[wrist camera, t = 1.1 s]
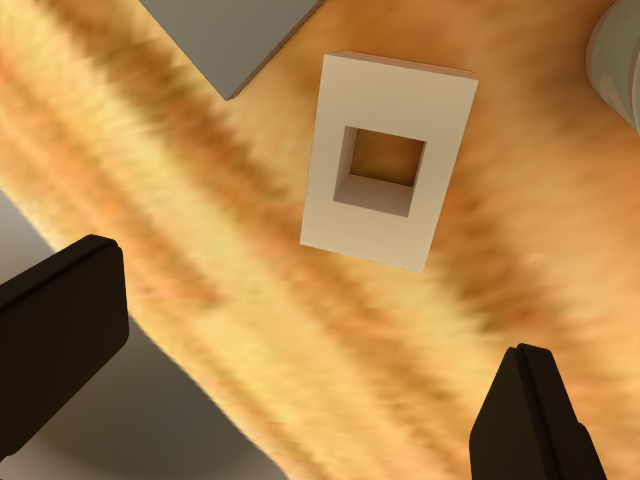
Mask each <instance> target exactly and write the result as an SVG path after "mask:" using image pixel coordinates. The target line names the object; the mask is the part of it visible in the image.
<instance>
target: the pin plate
mask: <svg viewBox="0 0 640 480" xmlns="http://www.w3.org/2000/svg"><path fill="white" fill-rule="evenodd" d="M139 1H140V2H141V3H142V5H143V6H144V7H145V8H146V9H147V10H148V12H149V13H150V14H151V15H152V16H153V17H154V19H155V20H156V21H157V22H158V23H159V24H160V26H161V27H162V28H163V29H164V30H165V31H166V32H167V34H168V35H169V36H170V37H171V38H172V39H173V41H174V42H175V43H176V44H177V45H178V46H179V48H180V49H181V50H182V51H183V52H184V53H185V55H186V56H187V57H188V58H189V59H190V60H191V61H192V63H193V64H194V65H195V66H196V67H197V68H198V70H199V71H200V72H201V73H202V74H203V75H204V77H205V78H206V79H207V80H208V81H209V82H210V83H211V85H212V86H213V87H214V88H215V89H216V90H217V92H218V93H219V94H220V95H221V96H222V97H223V99H224V100H225V101H227V100H230V99H233V98H235V97H236V95H237V94H238V93H239V92H240V91H241V90H242V89H243V88H244V87H245V86H246V85H247V84H248V83H249V82H250V80H251V79H252V78H253V77H254V76H255V75H256V74H257V73H258V72H259V71H260V70H261V69H262V68H263V67H264V65H265V64H266V63H267V62H268V61H269V60H270V59H271V58H272V57H273V56H274V55H275V54H276V53H277V52H278V50H279V49H280V48H281V47H282V46H283V45H284V44H285V43H286V42H287V41H288V40H289V39H290V38H291V37H292V35H293V34H294V33H295V32H296V31H297V30H298V29H299V28H300V27H301V26H302V25H303V24H304V23H305V22H306V21H307V19H308V18H309V17H310V16H311V15H312V14H313V13H314V12H315V11H316V10H317V9H318V8H319V7H320V6H321V4H322V3H323V2H324V1H325V0H139Z"/></svg>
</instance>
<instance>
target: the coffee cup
mask: <svg viewBox="0 0 640 480" xmlns="http://www.w3.org/2000/svg"><path fill="white" fill-rule="evenodd" d="M585 69H586V74H587V77H588V80H589V82H590V84H591V86H592V88H593V89H594V90H595V92H596V93H597V94H598V95H599V96H600V97H601V98H602V99H603V100H604V101H605V102H606V103H607V104H608V105H609V106H610V107H611V108H613V109H614V110H615V111H616V112H617V113H618V114H619V115H620V116H621V117H622V118H623V119H624V120H625V121H626V122H627V123H629V124H630V125H631V126H632V127H633V128H634V129H635V130H636V131H637V132H638V133H639V136H640V0H616V1H615V2H614V3H613V4H612V5H611V6H610V7H609V8H608V9H607V10H606V11H605V13H604V14H603V15H602V16H601V18H600V19H599V21H598V22H597V24H596V25H595V27H594V29H593V31H592V33H591V35H590V38H589V41H588V44H587V48H586V53H585Z"/></svg>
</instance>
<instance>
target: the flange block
mask: <svg viewBox="0 0 640 480" xmlns="http://www.w3.org/2000/svg"><path fill="white" fill-rule="evenodd" d="M478 83H479V80H478V79H477V77H476V76H475V75H474V74H473V73H472V72H471V71H466V70H460V69H454V68H448V67H442V66H436V65H430V64H424V63H418V62H412V61H406V60H400V59H394V58H388V57H382V56H376V55H370V54H364V53H358V52H352V51H346V50H344V51H339V52H333V53H328V54H324V59H323V67H322V74H321V82H320V90H319V97H318V105H317V113H316V120H315V128H314V136H313V144H312V151H311V159H310V167H309V174H308V182H307V190H306V197H305V205H304V213H303V220H302V228H301V236H300V244H302V245H306V246H311V247H315V248H319V249H323V250H327V251H331V252H335V253H339V254H343V255H348V256H352V257H356V258H360V259H364V260H368V261H372V262H376V263H380V264H385V265H389V266H393V267H397V268H401V269H405V270H409V271H413V272H417V273H423V270H424V266H425V263H426V260H427V256H428V253H429V249H430V246H431V243H432V239H433V236H434V232H435V229H436V226H437V222H438V219H439V215H440V212H441V209H442V205H443V202H444V198H445V195H446V192H447V188H448V185H449V181H450V178H451V175H452V171H453V168H454V164H455V161H456V158H457V154H458V151H459V147H460V144H461V140H462V137H463V134H464V130H465V127H466V123H467V120H468V117H469V113H470V110H471V106H472V103H473V100H474V96H475V93H476V89H477V86H478ZM358 128H360V129H365V130H370V131H375V132H380V133H386V134H391V135H396V136H401V137H406V138H411V139H416V140H422V141H424V145H423V149H422V153H421V157H420V161H419V165H418V169H417V172H416V176H415V180H414V184H413V187H409V186H404V185H400V184H395V183H390V182H386V181H381V180H376V179H372V178H367V177H362V176H357V175H353V174H350V171H351V165H352V159H353V154H354V148H355V142H356V137H357V131H358Z"/></svg>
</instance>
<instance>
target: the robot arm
mask: <svg viewBox="0 0 640 480" xmlns="http://www.w3.org/2000/svg"><path fill="white" fill-rule="evenodd" d="M128 336H129V322H128V310H127V298H126V286H125V274H124V262H123V252H122V249H121V248H120V247H118V244H117V242H116V241H115V240H113V239H110V238H106V237H102V236H98V235H93V234H90V235H87V236H85V237H84V238H82V239H80V240H78V241H77V242H75V243H73V244H71V245H70V246H68V247H66V248H64V249H63V250H61V251H59V252H57V253H56V254H54V255H52V256H50V257H49V258H47V259H45V260H43V261H42V262H40V263H38V264H36V265H35V266H33V267H31V268H29V269H28V270H26V271H24V272H23V273H21V274H19V275H17V276H15V277H14V278H12V279H10V280H8V281H7V282H5V283H3V284H1V285H0V462H1V461H2V460H3V459H4V458H5V457H6V456H10V455H13V454H14V453H16V452H17V451H19V450H20V449H21V448H22V447H23V446H24V445H25V444H26V443H27V442H28V441H29V440H30V439H31V438H32V437H33V436H34V435H35V434H36V433H37V432H38V431H39V430H40V429H41V428H42V427H43V426H44V425H45V424H46V423H47V422H48V421H49V420H50V419H51V418H52V417H53V416H54V415H55V414H56V413H57V412H58V411H59V410H60V409H61V408H62V407H63V406H64V405H65V404H66V403H67V402H68V401H69V400H70V399H71V398H72V397H73V396H74V395H75V394H76V393H77V392H78V391H79V390H80V389H81V388H82V387H83V386H84V385H85V384H86V383H87V382H88V380H90V379H91V378H92V377H93V376H94V375H95V374H96V373H97V372H98V371H99V370H100V369H101V368H102V367H103V366H104V365H105V364H106V363H107V362H108V361H109V360H110V359H111V358H112V357H113V356H114V355H115V354H116V353H117V352H118V351H119V350H120V349H121V348H122V347H123V346H124V345H125V343H126V341H127V339H128ZM469 452H470V463H471V474H472V480H607V478H606V475H605V473H604V470H603V467H602V465H601V462H600V460H599V457H598V455H597V452H596V450H595V447H594V445H593V442H592V440H591V437H590V435H589V433H588V431H587V429H586V427H585V426H584V425H582V424H581V423H579V422H578V421H577V418H576V415H575V413H574V410H573V408H572V405H571V402H570V400H569V397H568V394H567V392H566V389H565V387H564V384H563V381H562V379H561V376H560V373H559V371H558V368H557V365H556V363H555V360H554V358H553V355H552V353H551V351H550V350H548V349H544V348H540V347H536V346H532V345H528V344H524V343H520V344H519V345H518V346H517V348H513V347H509V348H508V349H507V351H506V353H505V355H504V358H503V360H502V362H501V364H500V367H499V369H498V371H497V374H496V376H495V378H494V380H493V383H492V385H491V387H490V389H489V392H488V394H487V396H486V398H485V401H484V403H483V405H482V408H481V410H480V412H479V414H478V417H477V419H476V421H475V423H474V426H473V428H472V430H471V434H470V439H469ZM0 480H2V479H0Z"/></svg>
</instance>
